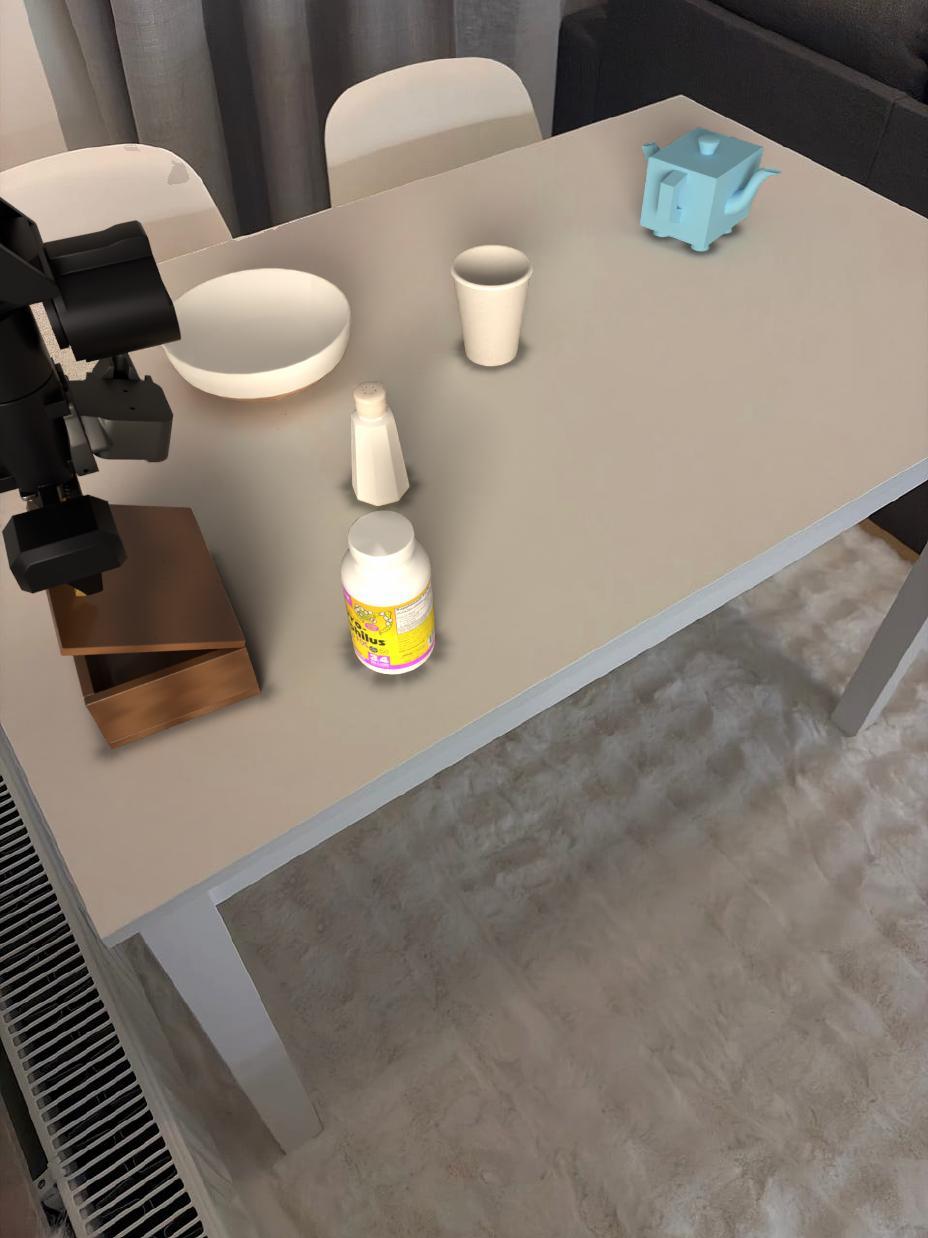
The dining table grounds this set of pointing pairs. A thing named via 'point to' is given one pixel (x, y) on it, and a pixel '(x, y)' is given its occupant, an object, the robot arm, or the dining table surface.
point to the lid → (149, 592)
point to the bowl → (260, 333)
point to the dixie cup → (491, 300)
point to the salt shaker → (376, 448)
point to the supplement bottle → (388, 593)
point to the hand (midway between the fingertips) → (87, 562)
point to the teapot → (700, 186)
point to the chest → (161, 688)
